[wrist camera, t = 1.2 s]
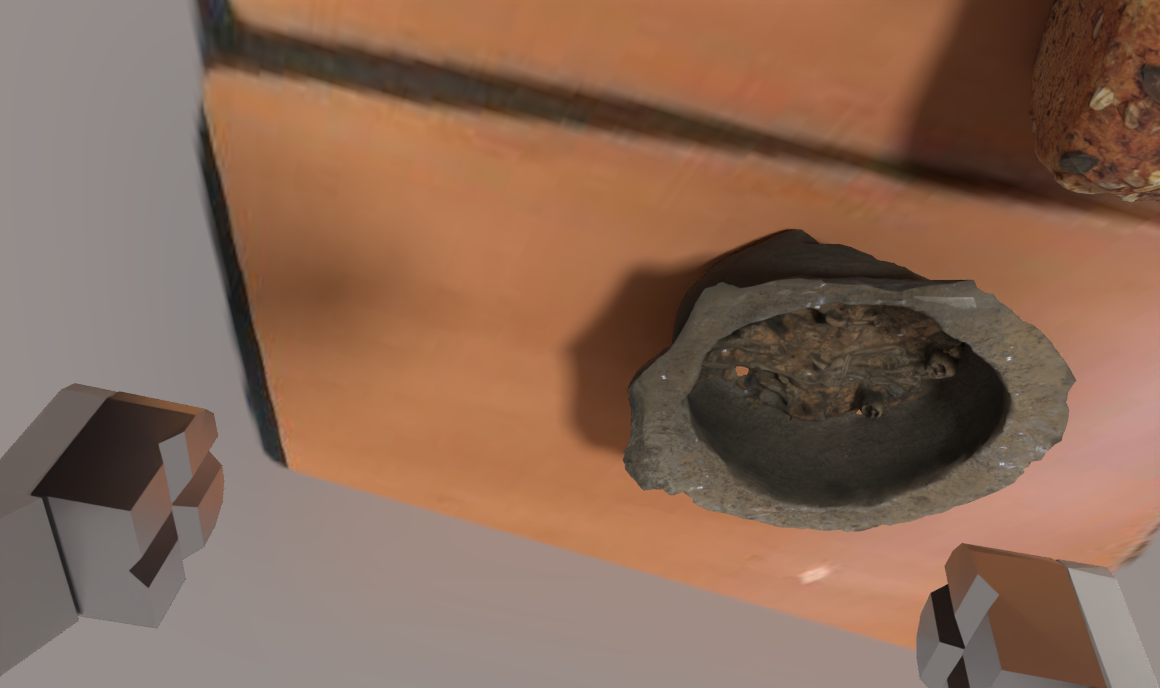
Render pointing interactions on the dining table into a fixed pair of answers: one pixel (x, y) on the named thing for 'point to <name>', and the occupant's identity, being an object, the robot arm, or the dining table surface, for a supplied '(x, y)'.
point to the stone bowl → (841, 391)
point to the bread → (1100, 97)
